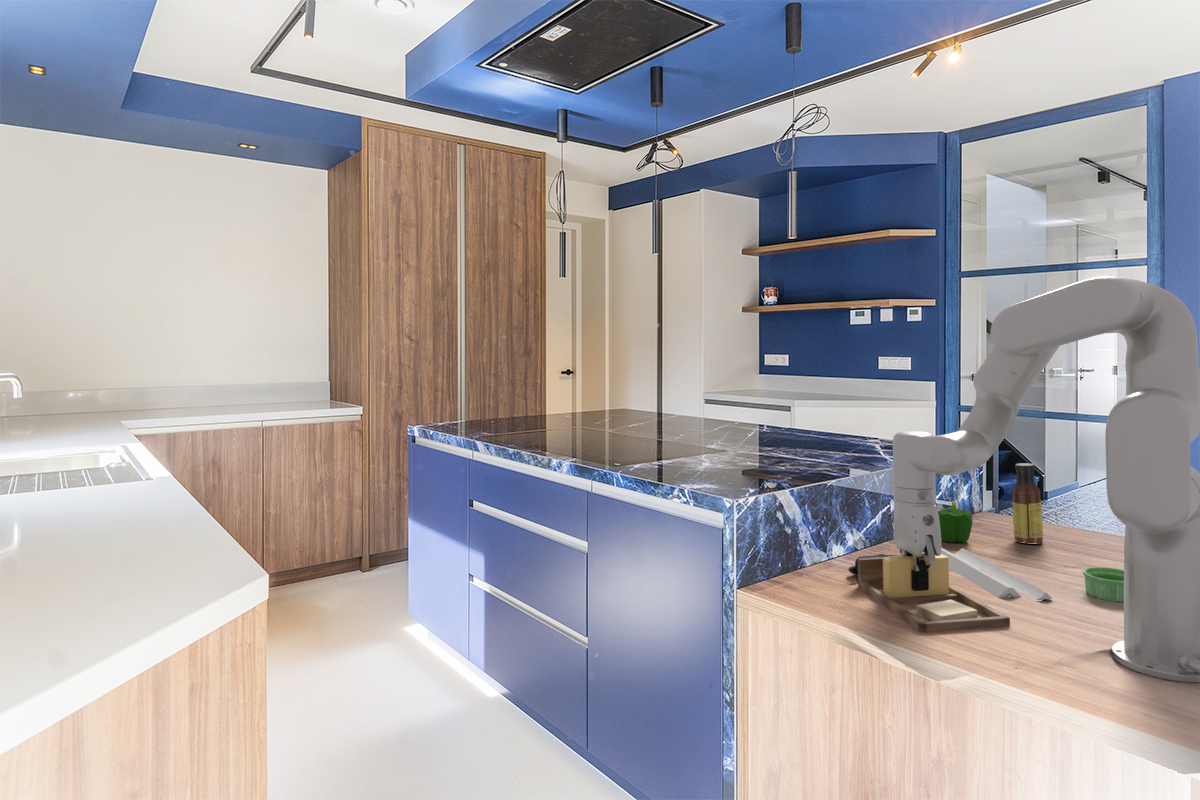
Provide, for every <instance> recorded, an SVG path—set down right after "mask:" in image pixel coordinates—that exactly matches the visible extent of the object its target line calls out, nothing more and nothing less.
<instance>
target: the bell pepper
mask: <svg viewBox="0 0 1200 800" xmlns="http://www.w3.org/2000/svg"><path fill="white" fill-rule="evenodd" d="M938 515H939V521H940V530H941V541H944V542H947V543H960V542H962V543H966V542H968V541H969V540H970V536H971V531H972V528H973V514H972V512H971V511H968V510H962V509H960V508H957V502H956V500H952V501H951V509H950V508H948V507H945V508H942V509H941V510H938Z"/></svg>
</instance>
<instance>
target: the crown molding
mask: <svg viewBox="0 0 1200 800" xmlns="http://www.w3.org/2000/svg"><path fill="white" fill-rule="evenodd" d="M922 554H925V553H924V552H922ZM941 554H942V555H944V556H946V557H948V560H949V573H950V572H955V573H957V574H958V575H960V576H961V577H963V578H965V579H966V580H968V581H969V582H971V583H972V584H974V585H976V586H977V587H979V588H981V589H983V590H985V591H986V592H988V593H989V594H991V595H993V596H994V597H996V598H998V599H999V598H1000V599H1001V598H1022V597H1023V596H1021V595H1020V594H1019V593H1018V592H1017V591H1019V592H1021V593H1024V594H1025V595H1027V596H1030V597H1032V598H1034V599H1036V600H1043V601H1044V600H1045V599H1053V597H1051V595H1049V593H1048V592H1046V591H1044V590H1042V589H1040V588H1038V587H1036V586H1035V585H1033V584H1031V583H1029V582H1027V581H1026V580H1023V579H1021V578H1020V577H1018V576H1016V575H1014V574H1012V573H1010V572H1009V571H1006V570H1005V569H1003V568H1001V567H999V566H997V565H996V564H994V563H992V562H990V561H988V560H986V559H983V558H982V557H981V556H979V555H976V554H974V553H972V552H971V551H968V550H967V549H965V548H963V547H961V548H960V549H959V550H958V551H956V552H955V553H953V552H950V551H948V550H947V549H945V548H943V547H942V552H941ZM980 569H982V570H984V571H985V572H984V571H982V570H980ZM986 572H987V573H986ZM988 573H989V574H991V575H992V576H991V575H989V574H988ZM1016 589H1017V591H1016Z"/></svg>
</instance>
